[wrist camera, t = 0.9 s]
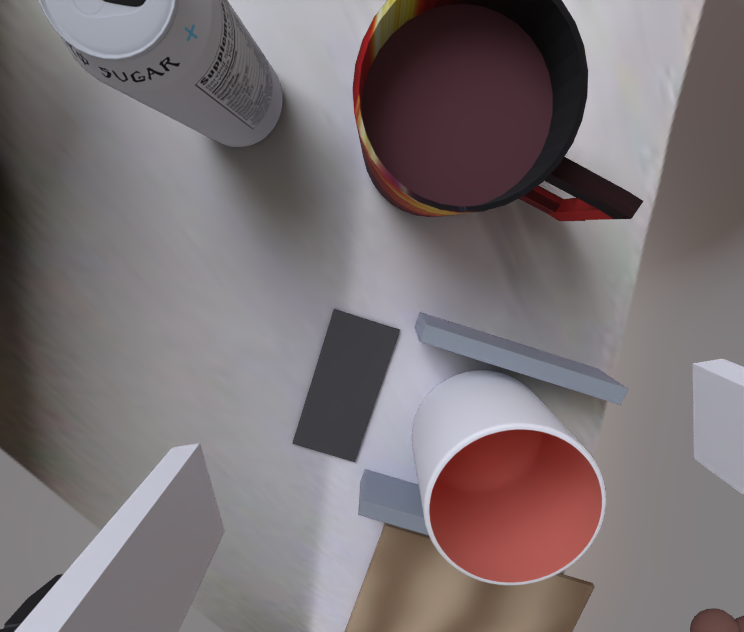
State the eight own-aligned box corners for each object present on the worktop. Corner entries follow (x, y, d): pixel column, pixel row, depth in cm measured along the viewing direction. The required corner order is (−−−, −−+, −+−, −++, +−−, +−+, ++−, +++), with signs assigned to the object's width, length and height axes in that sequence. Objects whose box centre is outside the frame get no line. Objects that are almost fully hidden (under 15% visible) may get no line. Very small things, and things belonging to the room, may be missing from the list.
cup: (512, 500, 35) (563, 607, 26) (393, 464, 35) (399, 558, 25) (561, 387, 33) (638, 456, 24) (436, 347, 33) (461, 400, 23)
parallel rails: (360, 482, 35) (358, 514, 31) (420, 312, 32) (425, 324, 28) (525, 531, 36) (544, 569, 32) (598, 369, 33) (628, 388, 29)
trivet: (335, 658, 39) (334, 662, 38) (385, 522, 36) (385, 525, 35) (528, 711, 39) (530, 716, 39) (592, 583, 37) (594, 586, 36)
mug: (559, 221, 31) (670, 219, 19) (360, 215, 31) (350, 210, 19) (576, 70, 29) (711, -36, 17) (364, 64, 29) (355, -45, 17)
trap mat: (293, 441, 34) (292, 443, 34) (334, 308, 32) (333, 309, 32) (354, 459, 35) (354, 462, 34) (399, 329, 33) (399, 330, 32)
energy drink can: (198, 45, 29) (12, -141, 14) (290, 59, 29) (200, -110, 14) (192, 142, 30) (15, 64, 15) (280, 155, 30) (188, 91, 15)
